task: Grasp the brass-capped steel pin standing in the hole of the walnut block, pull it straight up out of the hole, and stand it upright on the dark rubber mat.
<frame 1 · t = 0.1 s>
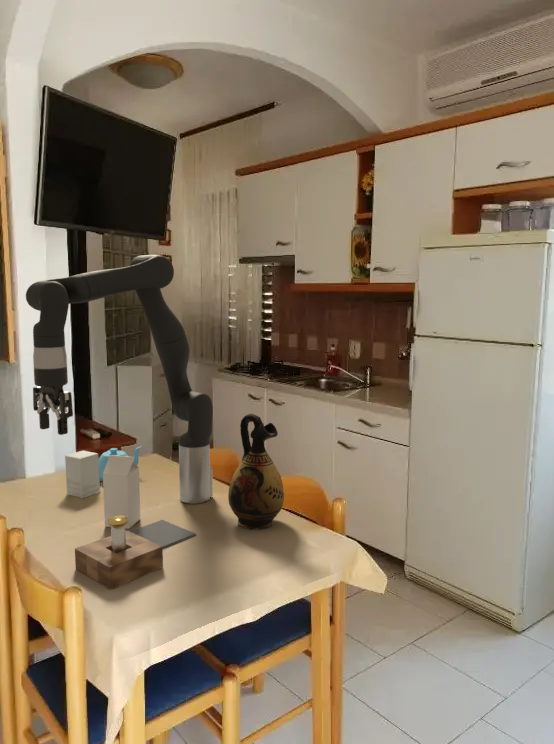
hand: (53, 431, 145), 29 cm above the table, tool pointing down, fingers open, 8 cm apart
milk carton: (122, 524, 164), on the table
supplement box: (83, 493, 188), on the table
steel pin: (118, 543, 137), in the walnut block
walnut block: (119, 568, 138), on the table
ceramic jug: (254, 522, 165), on the table
rubber mat: (157, 536, 155), on the table
teapot: (115, 479, 202), on the table
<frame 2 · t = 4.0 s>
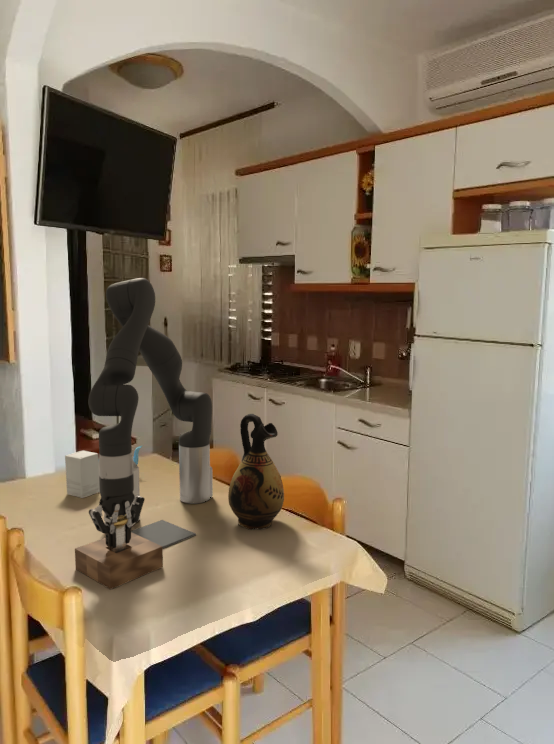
hand: (118, 544, 137), 6 cm above the table, tool pointing down, fingers closed on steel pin, 3 cm apart
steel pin: (118, 543, 137), in the walnut block, touching gripper
everything else where it was.
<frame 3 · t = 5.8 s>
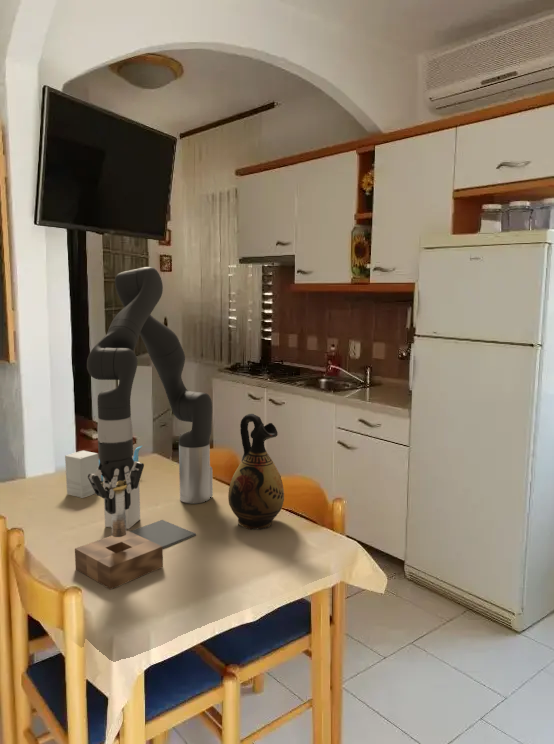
hand: (118, 510, 136), 14 cm above the table, tool pointing down, fingers closed on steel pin, 3 cm apart
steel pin: (118, 509, 136), point 14 cm above the table, touching gripper
everything else where it was.
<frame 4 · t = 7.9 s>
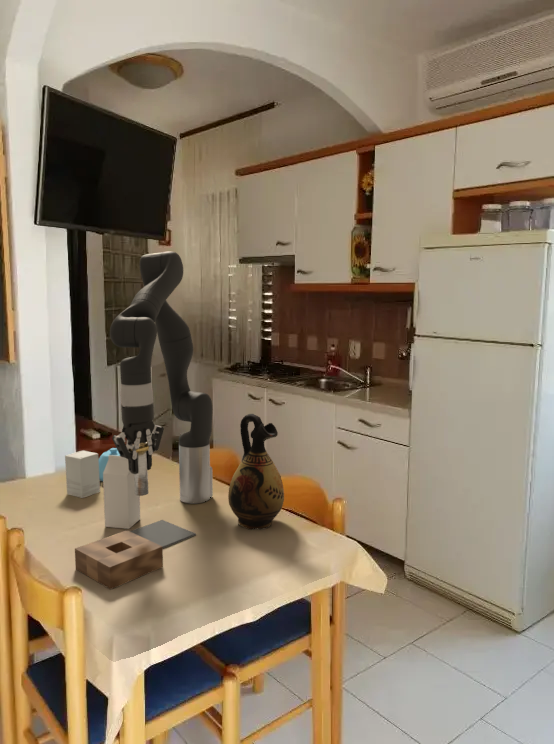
hand: (140, 471, 144), 20 cm above the table, tool pointing down, fingers closed on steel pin, 3 cm apart
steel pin: (140, 470, 144), point 20 cm above the table, touching gripper
everything else where it was.
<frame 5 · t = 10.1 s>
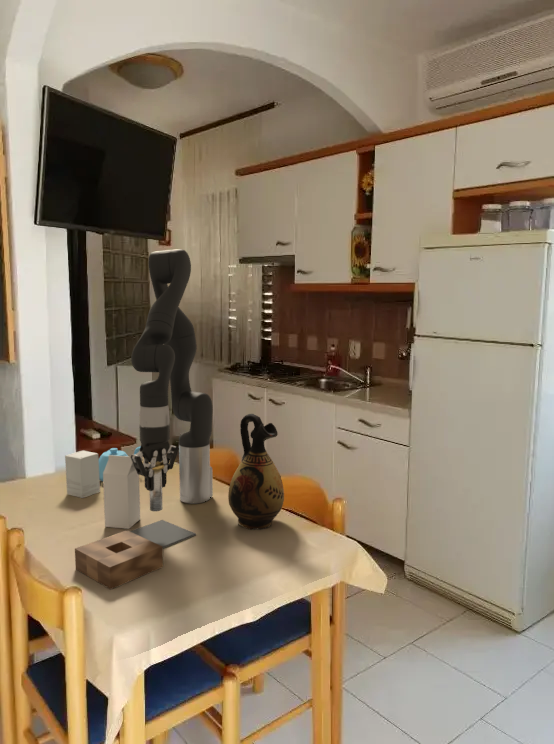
hand: (155, 488, 154), 13 cm above the table, tool pointing down, fingers closed on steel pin, 3 cm apart
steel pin: (155, 487, 154), point 13 cm above the table, touching gripper
everything else where it was.
when the fingers open (7 cm above the table, at t = 11.9 s): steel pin moves 1 cm, resting on rubber mat.
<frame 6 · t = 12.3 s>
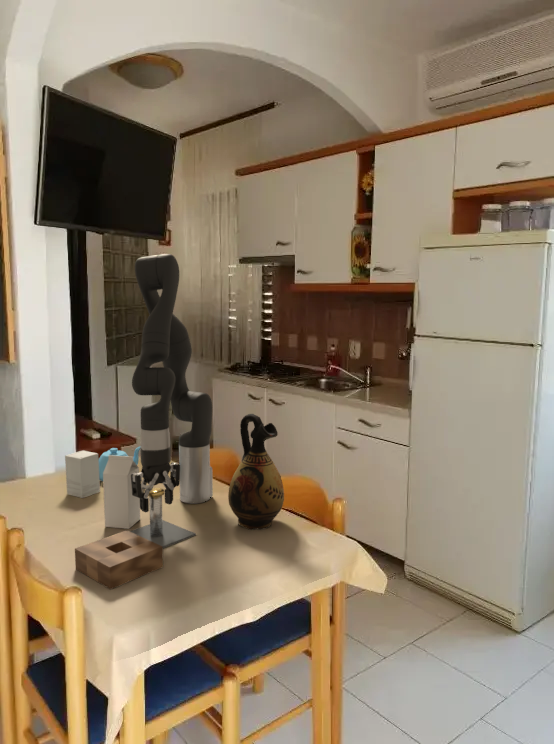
hand: (156, 507, 154), 8 cm above the table, tool pointing down, fingers open, 7 cm apart
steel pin: (156, 512, 154), on the rubber mat
everything else where it was.
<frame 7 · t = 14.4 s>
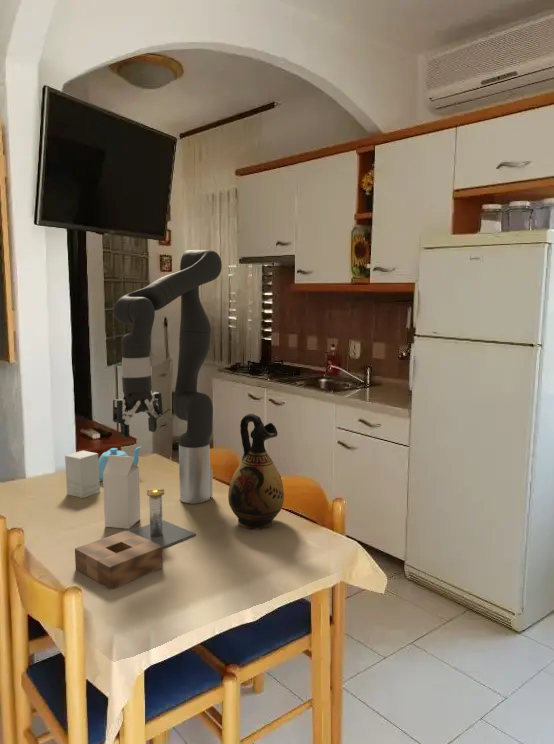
hand: (139, 434, 158), 26 cm above the table, tool pointing down, fingers open, 8 cm apart
nothing on the table moved.
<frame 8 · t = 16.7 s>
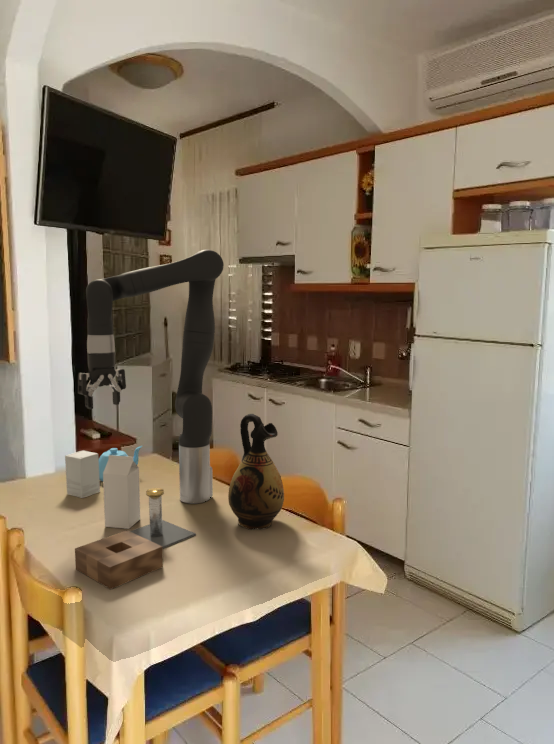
hand: (103, 406, 172), 30 cm above the table, tool pointing down, fingers open, 8 cm apart
nothing on the table moved.
at the end: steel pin inside the target area on the rubber mat (0.3 cm from its centre), point 6.4 cm above the rubber mat's base; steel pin tilted 1°; the gripper is holding nothing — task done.
